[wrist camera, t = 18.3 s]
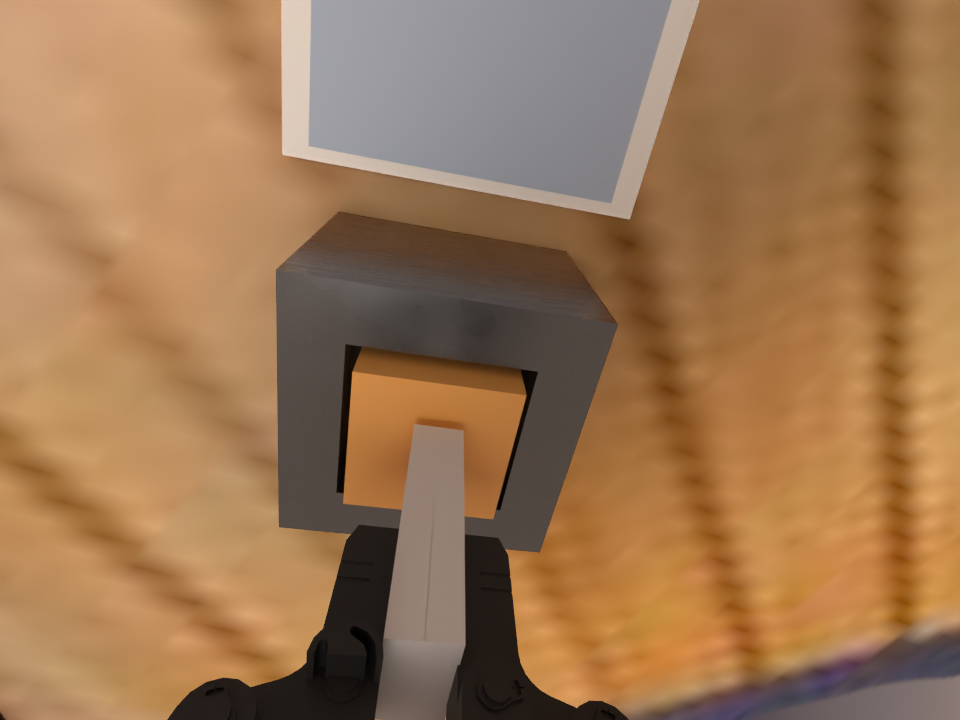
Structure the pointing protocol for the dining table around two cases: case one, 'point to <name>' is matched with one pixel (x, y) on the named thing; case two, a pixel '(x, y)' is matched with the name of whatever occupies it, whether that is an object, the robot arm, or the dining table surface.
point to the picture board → (485, 92)
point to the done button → (429, 424)
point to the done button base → (438, 333)
